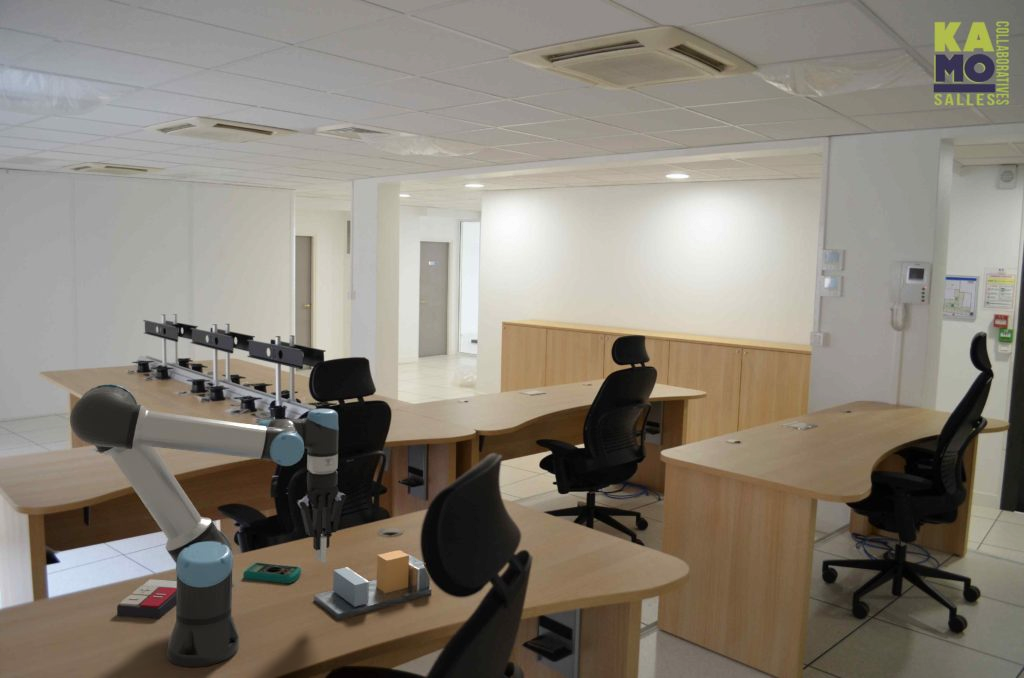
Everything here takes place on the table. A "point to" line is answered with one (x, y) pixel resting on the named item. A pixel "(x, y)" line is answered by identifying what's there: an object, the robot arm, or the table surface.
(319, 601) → the vise base
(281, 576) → the digital multimeter
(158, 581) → the calculator
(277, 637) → the table surface
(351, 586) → the block
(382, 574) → the light orange block
